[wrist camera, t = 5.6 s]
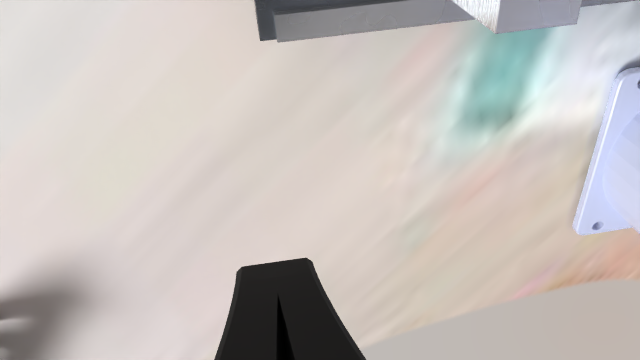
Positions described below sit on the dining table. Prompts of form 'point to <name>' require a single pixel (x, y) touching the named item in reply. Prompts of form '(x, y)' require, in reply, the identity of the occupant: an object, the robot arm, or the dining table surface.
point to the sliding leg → (522, 13)
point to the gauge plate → (355, 16)
